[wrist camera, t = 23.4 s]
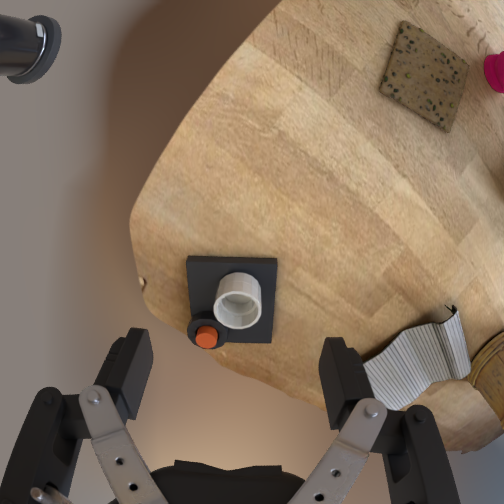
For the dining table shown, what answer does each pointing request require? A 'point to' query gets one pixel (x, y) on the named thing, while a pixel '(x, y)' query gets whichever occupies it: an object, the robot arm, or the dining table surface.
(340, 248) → the dining table surface
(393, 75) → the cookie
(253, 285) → the white cup
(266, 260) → the scale
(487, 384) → the tankard
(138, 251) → the dining table surface
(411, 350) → the mat
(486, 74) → the pepper mill
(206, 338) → the button
